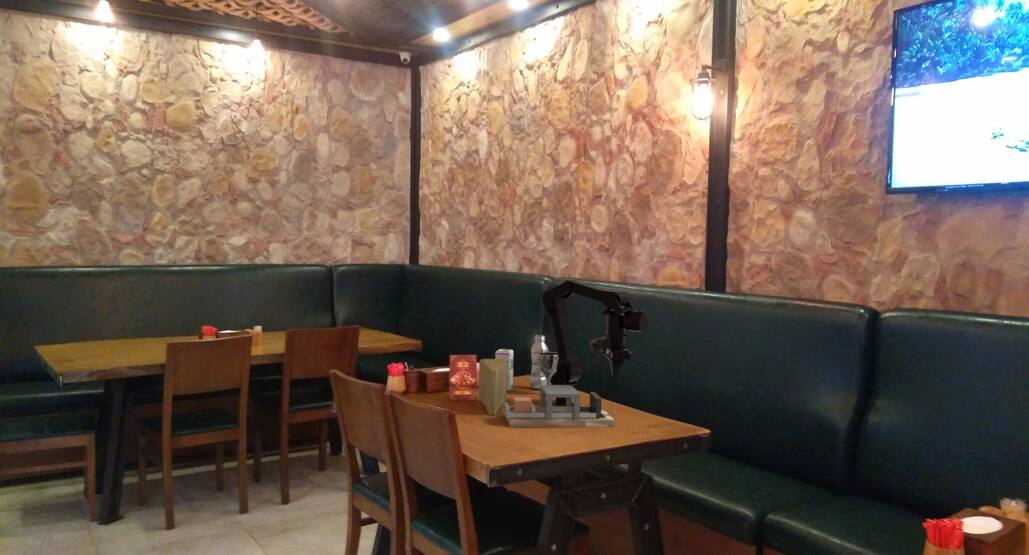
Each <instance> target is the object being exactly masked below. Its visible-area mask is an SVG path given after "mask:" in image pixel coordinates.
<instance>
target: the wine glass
mask: <svg viewBox="0 0 1029 555" xmlns="http://www.w3.org/2000/svg"><path fill="white" fill-rule="evenodd" d="M558 359H559V357H558V352H557V351H556V352H555V351H548V352H539V353H538V363H539V368H540V370H541V371H542V372H543V374H544V375H545V376H546V379H547V385H551V382H550V380H551V379H552V378H553V377H552V376H553V375H554V374H555V373H557V363H558ZM538 396H540V392H539V393H538Z"/></svg>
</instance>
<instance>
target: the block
mask: <svg viewBox="0 0 1029 555" xmlns="http://www.w3.org/2000/svg"><path fill="white" fill-rule="evenodd" d="M532 403H533V402H532V399H531V397H529V396H527V397H525V396H524V397H523V396H520V397H519V396H514V397H513V402H512V404H513V405H512V406H513V413H531V408H532Z"/></svg>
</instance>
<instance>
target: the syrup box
mask: <svg viewBox="0 0 1029 555" xmlns="http://www.w3.org/2000/svg"><path fill="white" fill-rule="evenodd" d="M494 359H505V360H507V391H508V392H509V391H511V390H512V389H513V388H514V350H513V349H509V348H508V349H507V348H506V349H505V348H502V349H501V348H499V349H498V350H496V351H495V358H494Z"/></svg>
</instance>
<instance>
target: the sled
mask: <svg viewBox="0 0 1029 555" xmlns="http://www.w3.org/2000/svg"><path fill="white" fill-rule="evenodd" d="M502 405H503V406H502V412H503V414H504V416H505V418H506V419H507V418H546V413H535V411H546V405H545V406H540V405H534V402H532V408H531V413H509V411H513V405H509V404H508V402H507V401H504V402H503V404H502ZM601 410H602V398H601V397H600V395H599V394H597V393H596V392H595V391H590V392H589V405H580V411H590V412H580V413H579V418H601ZM552 411H574V405H572V406H566V405H552ZM552 418H574V412H552Z"/></svg>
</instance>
